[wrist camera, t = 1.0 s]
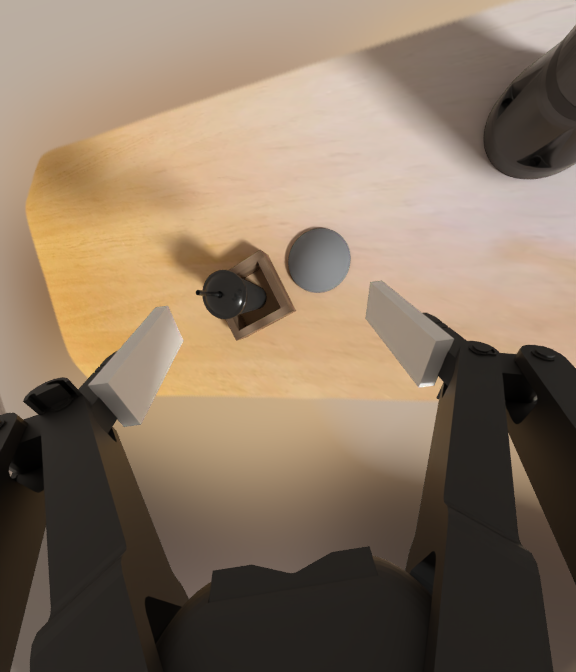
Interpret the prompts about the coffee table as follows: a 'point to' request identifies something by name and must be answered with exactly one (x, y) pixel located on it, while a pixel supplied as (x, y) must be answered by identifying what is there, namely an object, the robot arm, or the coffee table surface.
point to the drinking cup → (230, 295)
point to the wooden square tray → (277, 287)
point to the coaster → (319, 260)
